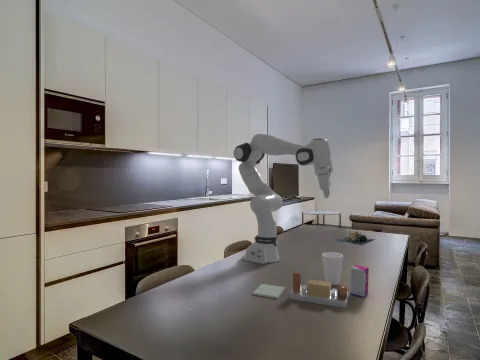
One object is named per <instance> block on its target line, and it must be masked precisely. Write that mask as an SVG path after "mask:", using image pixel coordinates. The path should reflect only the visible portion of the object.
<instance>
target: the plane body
mask: <svg viewBox="0 0 480 360" xmlns="http://www.w3.org/2000/svg"><path fill="white" fill-rule="evenodd" d="M336 286H337V288H332V287H331V294H330V297H329V296H323V295H316V294H309V293H307V284H304V285H302V272H301V271H293V272H292V289H291V291H290V292H289V300H293V301H298V302H299V301H301V302H307V303H311V304H312V303H313V304H319V305H323V306H325V305H326V306H329V307H337V308H344V309H347V308H348V303H349V292H348V287H347V286H345V285H340V284H339V285H336Z"/></svg>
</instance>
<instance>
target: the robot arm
mask: <svg viewBox="0 0 480 360" xmlns="http://www.w3.org/2000/svg"><path fill="white" fill-rule="evenodd" d="M265 155H268V156H275V157H276V156H283V155H284V156H285V155H288V156H290V155H291V156H295V161H296V162H297V164H298V165H300V166H312V165H313V168H314V169H313V170H314V174H315V175H316V176H317V180H318V185H319V188H320V190H321V191H322V193H323V196H324V199H328V198H329V196H331V195H330V187H331V185H332V184H331V176H332V174H331V173H333V172H334V168H333V161H332V159H331V156H332V155H331V148H330V144H329V141H328V139H326V138H324V137H323V138H321V137H318V138H313V139H311V140H310V142H309V143H307V144H306V145H300V144H296V143H293V142H290V141H287V140H284V139H282V138H279V137H277V136H273V135H271V134H266V133H257V134H254V135H253V136H252V138H251V142H249V143H248V142H244V143H241V144H239V145H237V146H236V147H235V148H234V151H233V156H234V159H235V160H236V161H238V162H240V164H239V165H238V171H239V174H240V177H241V179H242V181H243V183H244V184H245V186H246V188H247V189H248V191H249V192H250V193H251V194H252V195H253V196H254V197H252V199H251V200H250V203H249V206H250V210H251V211H252V212H253V213H254V215H255V218H256V222H257V235H256V236H254V242H253V243H252V244H250V245H249V246H247V247H246V250H245V254H243V255H242V256H241V260H242V261H246V262H251V263H256V264H263V265H264V264H270V263H277V262H279V261H280V260H281V259H280V256H279V251H278V250H279V249H278V239H279V238H278V235H277V233H278V232H277V222H276V220H275V219H274V217H273V212H276V211H278V210H280V209H281V208H282V207H283V203H284V201H283V198H282V197H281V196H280V195H279V194H277V193H276V192H275V191H274V190H273V189H272V188H271V187H270V185H269V184H267V183H266V181H265V179H264V178H263V176H262V175H261V173H260V171H259V169H257V166H256V165H259V164H260V163H261V161H262V160H263V158H264V157H265Z"/></svg>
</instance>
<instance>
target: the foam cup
mask: <svg viewBox="0 0 480 360" xmlns="http://www.w3.org/2000/svg"><path fill="white" fill-rule="evenodd" d="M321 260H322V265H323V273H324V281H326V282H331V286H332V285H333V286H338V285H340V282H341V276H342V268H343V261H344V255H343V253H339V252H335V251H334V252H333V251H328V252H323V253H322V254H321Z"/></svg>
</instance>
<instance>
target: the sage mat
mask: <svg viewBox="0 0 480 360" xmlns="http://www.w3.org/2000/svg"><path fill="white" fill-rule="evenodd" d="M285 290H286V286H278V285H270V284H267V283H266V284H265V283H261V284H259V286H258V287H257V288H256V289H255V290H254V291H253V292H252V295H253V296H260V297H266V298H270V299H271V298H272V299H277V300H278V299H279V298H280V297H281V296H282V294H283V292H284V291H285Z"/></svg>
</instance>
